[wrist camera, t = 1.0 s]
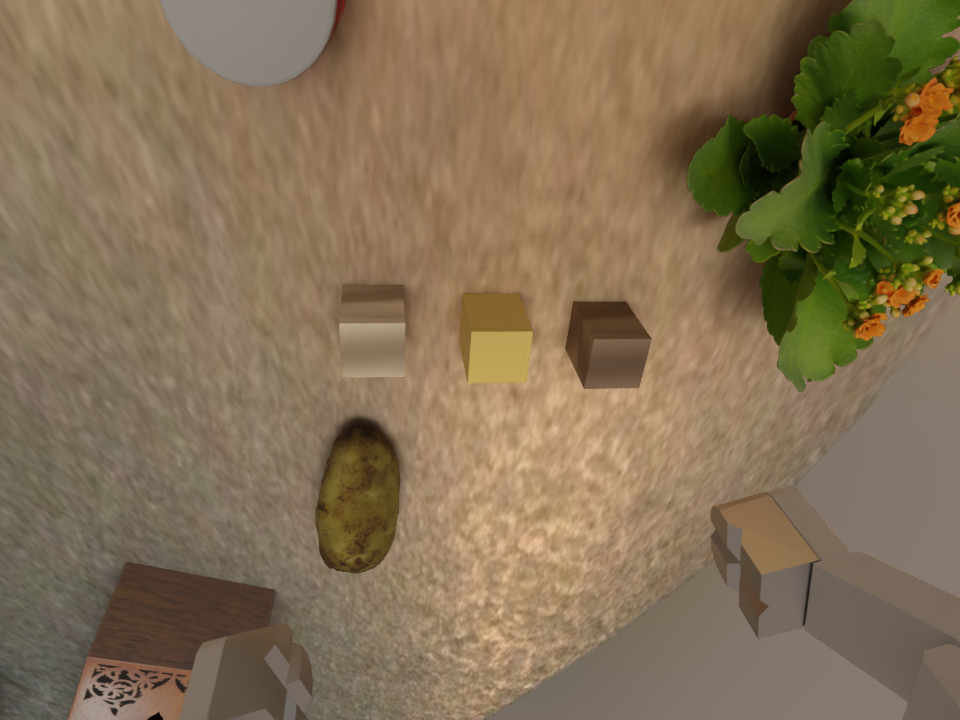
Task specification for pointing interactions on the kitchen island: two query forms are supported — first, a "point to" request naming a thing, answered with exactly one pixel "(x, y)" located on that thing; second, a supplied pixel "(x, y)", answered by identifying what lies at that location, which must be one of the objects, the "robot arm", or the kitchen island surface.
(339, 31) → the kitchen island surface
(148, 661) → the tissue box cover
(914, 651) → the robot arm
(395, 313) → the birch block
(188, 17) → the canned food
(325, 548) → the potato
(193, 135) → the kitchen island surface
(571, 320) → the walnut block
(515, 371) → the mustard block
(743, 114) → the kitchen island surface
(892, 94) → the potted flower
